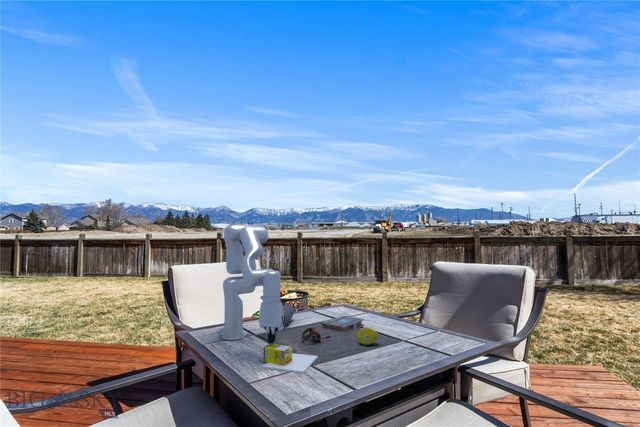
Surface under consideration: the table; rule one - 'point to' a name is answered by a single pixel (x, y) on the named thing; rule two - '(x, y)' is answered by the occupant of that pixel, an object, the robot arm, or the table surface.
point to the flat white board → (294, 363)
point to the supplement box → (278, 354)
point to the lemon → (367, 336)
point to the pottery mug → (311, 334)
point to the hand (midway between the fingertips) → (271, 342)
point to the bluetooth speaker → (287, 313)
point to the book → (342, 324)
